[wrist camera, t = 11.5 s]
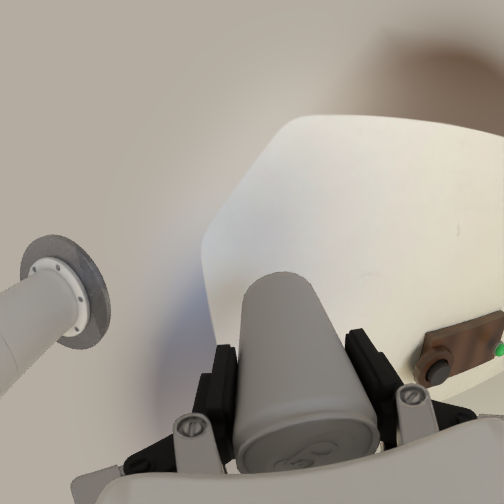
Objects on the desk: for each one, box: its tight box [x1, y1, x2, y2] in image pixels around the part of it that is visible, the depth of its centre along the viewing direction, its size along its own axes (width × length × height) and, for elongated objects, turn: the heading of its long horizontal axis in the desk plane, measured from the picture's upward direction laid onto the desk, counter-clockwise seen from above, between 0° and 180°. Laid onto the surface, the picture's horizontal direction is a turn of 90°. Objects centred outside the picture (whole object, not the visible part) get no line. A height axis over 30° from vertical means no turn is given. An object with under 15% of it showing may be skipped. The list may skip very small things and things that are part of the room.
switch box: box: [413, 310, 504, 388], centre depth 32 cm, size 20×9×4 cm, turn 95°
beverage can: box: [233, 272, 380, 474], centre depth 12 cm, size 5×5×12 cm
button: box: [426, 359, 451, 386], centre depth 30 cm, size 4×4×2 cm
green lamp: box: [492, 341, 504, 356], centre depth 29 cm, size 3×3×2 cm
